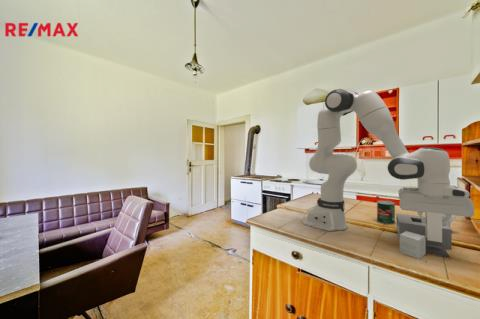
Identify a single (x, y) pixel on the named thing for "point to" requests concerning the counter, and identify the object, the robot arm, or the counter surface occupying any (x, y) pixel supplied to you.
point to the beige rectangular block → (433, 228)
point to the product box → (412, 244)
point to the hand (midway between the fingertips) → (433, 223)
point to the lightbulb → (449, 220)
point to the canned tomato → (386, 212)
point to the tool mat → (436, 250)
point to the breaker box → (421, 229)
